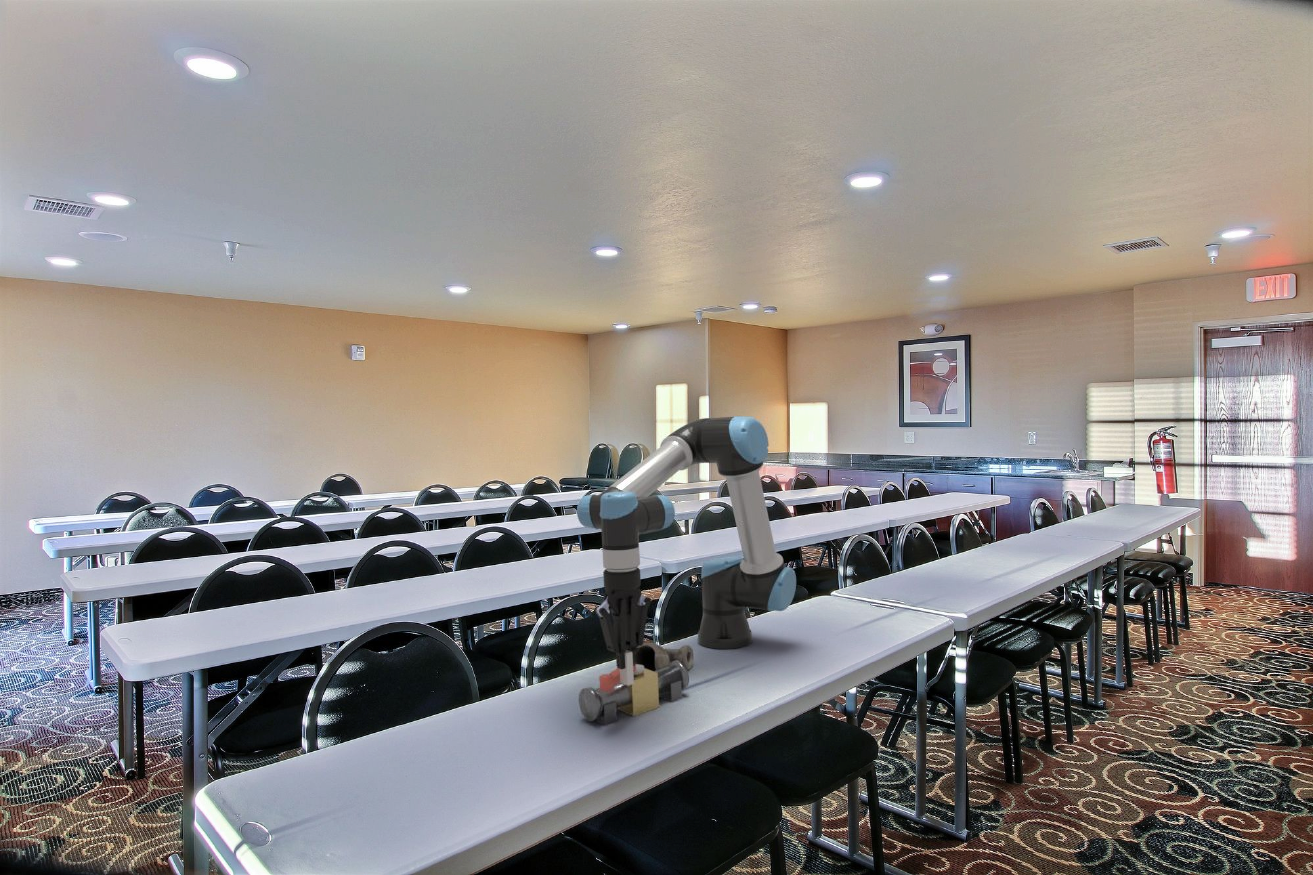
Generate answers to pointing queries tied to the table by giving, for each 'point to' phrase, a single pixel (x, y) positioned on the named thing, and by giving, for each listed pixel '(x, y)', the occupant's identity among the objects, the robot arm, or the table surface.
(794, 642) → the table surface
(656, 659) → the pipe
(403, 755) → the table surface
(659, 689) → the valve pipe
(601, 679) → the lever
